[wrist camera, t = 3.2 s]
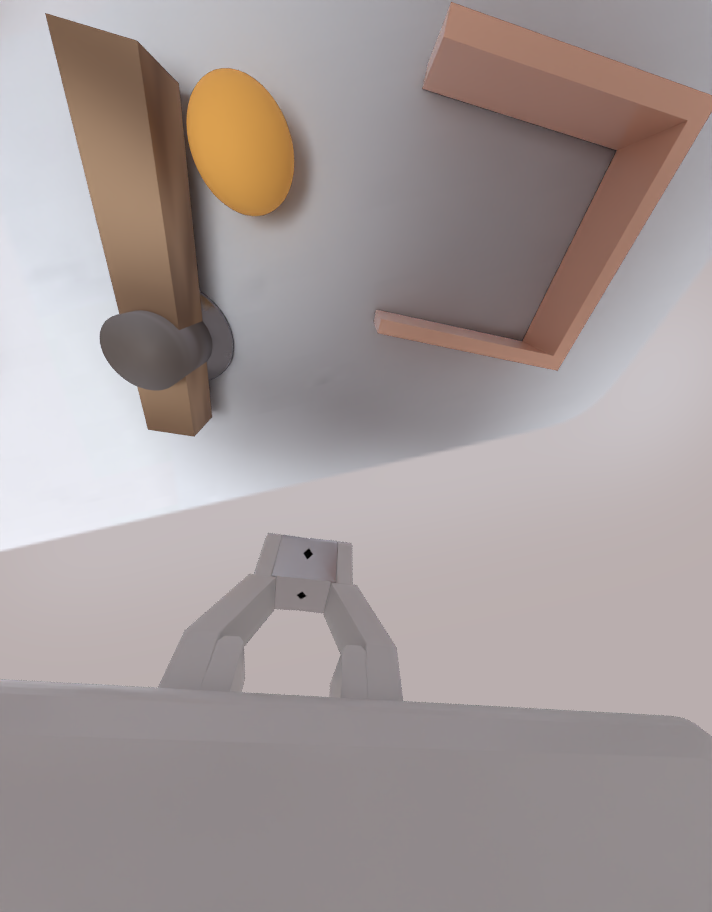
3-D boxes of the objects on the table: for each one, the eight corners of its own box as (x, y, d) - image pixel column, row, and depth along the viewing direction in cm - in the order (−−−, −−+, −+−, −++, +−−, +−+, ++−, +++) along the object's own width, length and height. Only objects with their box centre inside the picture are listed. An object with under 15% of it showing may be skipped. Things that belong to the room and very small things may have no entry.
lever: (94, 58, 10) (-8, -21, 7) (190, 87, 10) (129, 20, 7) (164, 409, 17) (127, 437, 15) (218, 417, 18) (193, 447, 15)
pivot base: (125, 271, 14) (121, 271, 14) (231, 293, 14) (229, 294, 14) (147, 371, 17) (144, 373, 16) (235, 386, 17) (233, 388, 17)
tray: (427, 63, 10) (451, 1, 8) (640, 133, 11) (719, 98, 9) (373, 321, 15) (377, 333, 13) (526, 354, 16) (557, 370, 14)
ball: (208, 86, 11) (152, 18, 8) (304, 114, 11) (286, 60, 8) (216, 210, 13) (174, 194, 10) (297, 229, 13) (281, 220, 10)
